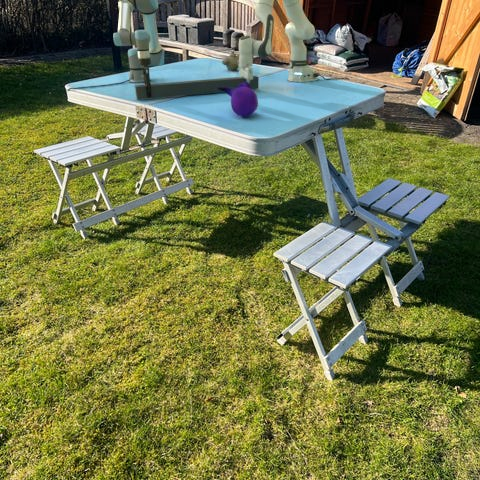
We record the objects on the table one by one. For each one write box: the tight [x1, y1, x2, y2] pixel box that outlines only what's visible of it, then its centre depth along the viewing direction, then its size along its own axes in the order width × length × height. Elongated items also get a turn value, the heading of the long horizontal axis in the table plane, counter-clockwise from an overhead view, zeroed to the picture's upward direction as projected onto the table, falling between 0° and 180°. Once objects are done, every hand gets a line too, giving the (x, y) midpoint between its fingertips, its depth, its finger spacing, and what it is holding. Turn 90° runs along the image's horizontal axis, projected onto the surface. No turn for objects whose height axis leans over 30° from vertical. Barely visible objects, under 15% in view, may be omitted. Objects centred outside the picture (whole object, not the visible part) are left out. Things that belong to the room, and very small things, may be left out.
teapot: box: [221, 50, 239, 72], centre depth 367 cm, size 21×12×15 cm, turn 120°
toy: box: [217, 82, 259, 118], centre depth 249 cm, size 16×18×27 cm
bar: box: [134, 75, 260, 100], centre depth 294 cm, size 81×6×8 cm, turn 107°
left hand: (148, 96), depth 287 cm, fingers closed on bar, 6 cm apart
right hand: (246, 84), depth 303 cm, fingers closed on bar, 5 cm apart
